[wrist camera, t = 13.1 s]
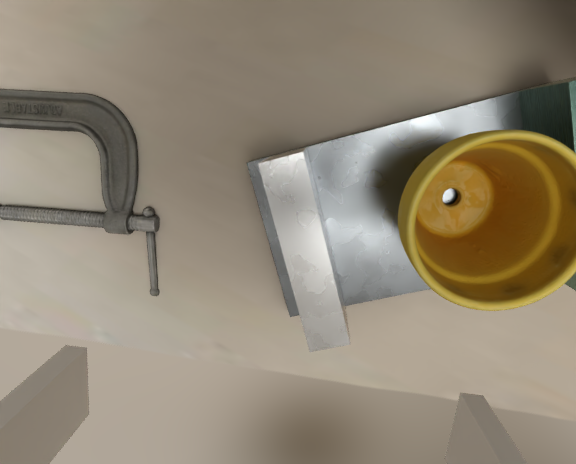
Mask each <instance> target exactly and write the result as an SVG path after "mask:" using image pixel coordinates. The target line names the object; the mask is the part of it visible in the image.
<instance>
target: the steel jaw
mask: <svg viewBox="0 0 576 464" xmlns="http://www.w3.org/2000/svg"><path fill="white" fill-rule="evenodd" d="M258 166H259V169H260V173H261V177H262V180H263V184H264V188H265V191H266V195H267V198H268V202H269V206H270V209H271V213H272V217H273V220H274V224H275V227H276V231H277V235H278V238H279V242H280V246H281V249H282V253H283V256H284V260H285V264H286V267H287V271H288V274H289V278H290V282H291V285H292V289H293V293H294V296H295V300H296V303H297V307H298V311H299V314H300V318H301V322H302V325H303V329H304V332H305V336H306V340H307V343H308V347H309V351H310V352H313V351H318V350H323V349H329V348H334V347H339V346H345V345H350V337H349V329H348V322H347V314H346V307H345V303H344V299H343V295H342V291H341V287H340V283H339V278H338V274H337V270H336V266H335V262H334V258H333V254H332V250H331V246H330V242H329V238H328V233H327V229H326V225H325V221H324V217H323V213H322V209H321V205H320V201H319V197H318V193H317V188H316V184H315V180H314V176H313V172H312V168H311V164H310V160H309V156H308V152H307V148H302V149H298V150H294V151H290V152H287V153H283V154H279V155H275V156H271V157H269V158H267V159H265V160H263V161H262V162H260V163H258Z"/></svg>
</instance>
